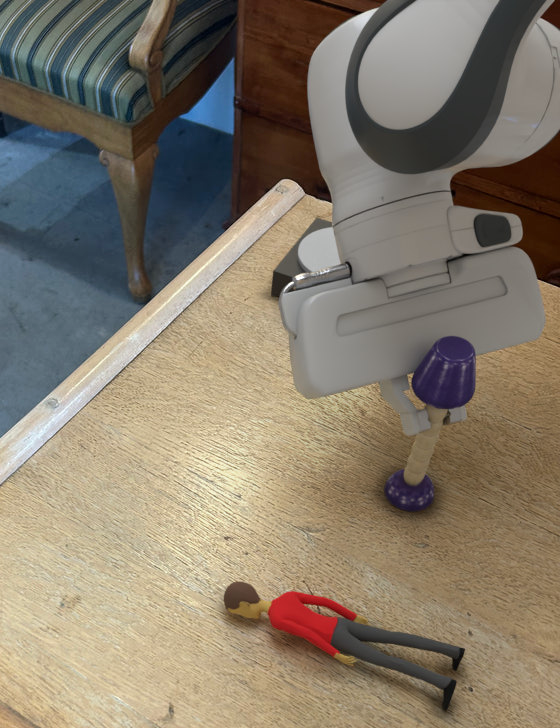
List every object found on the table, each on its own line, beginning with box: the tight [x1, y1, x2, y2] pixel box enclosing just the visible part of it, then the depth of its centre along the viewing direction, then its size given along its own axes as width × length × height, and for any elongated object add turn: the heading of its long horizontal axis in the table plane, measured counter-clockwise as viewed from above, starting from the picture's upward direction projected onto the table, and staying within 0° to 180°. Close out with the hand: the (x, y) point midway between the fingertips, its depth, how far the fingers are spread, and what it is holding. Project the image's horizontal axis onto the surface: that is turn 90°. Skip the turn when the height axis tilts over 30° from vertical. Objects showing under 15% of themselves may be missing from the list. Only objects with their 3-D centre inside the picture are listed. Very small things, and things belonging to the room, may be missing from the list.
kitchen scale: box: [270, 217, 340, 298], centre depth 94 cm, size 11×11×4 cm
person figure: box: [223, 581, 466, 712], centre depth 67 cm, size 5×4×18 cm
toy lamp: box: [383, 336, 477, 513], centre depth 70 cm, size 5×5×17 cm
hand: (436, 428), depth 70 cm, fingers closed on toy lamp
